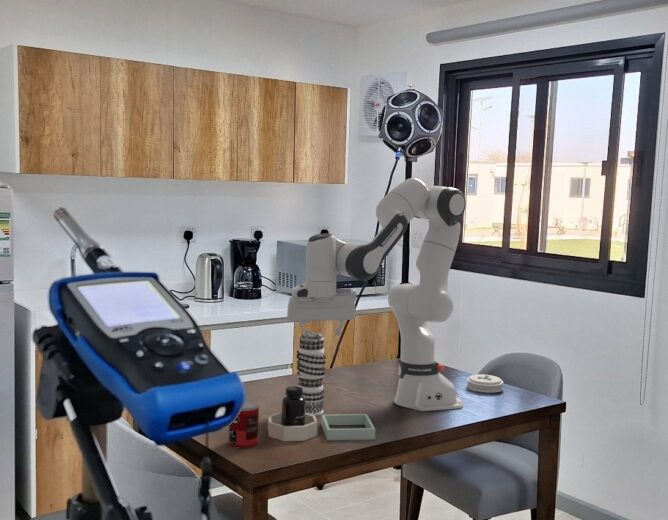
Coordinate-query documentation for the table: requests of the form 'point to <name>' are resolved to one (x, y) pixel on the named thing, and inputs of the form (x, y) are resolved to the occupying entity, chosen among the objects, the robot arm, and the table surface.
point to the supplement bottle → (293, 407)
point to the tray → (348, 433)
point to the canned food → (245, 426)
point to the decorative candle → (312, 371)
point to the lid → (485, 383)
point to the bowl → (292, 429)
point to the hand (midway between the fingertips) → (321, 335)
